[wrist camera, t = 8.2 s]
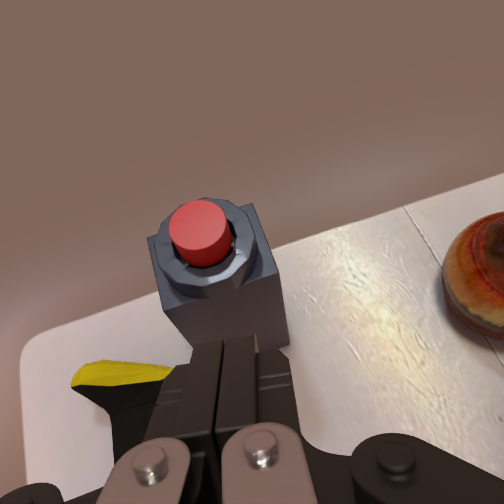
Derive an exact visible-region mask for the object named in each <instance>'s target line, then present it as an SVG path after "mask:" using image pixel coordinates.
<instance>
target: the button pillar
mask: <svg viewBox="0 0 504 504" xmlns="http://www.w3.org/2000/svg"><path fill="white" fill-rule="evenodd" d="M199 200H206V201H210V202H213V203H215V204H217V205H218V206H219V207H220V208H221V209H222V210H223V211H224V213H225V216H226V219H227V222H228V225H229V228H230V232H231V235H232V246H231V249H230V251H229V253H228V255H227V256H226V257H225V258H224V259H223V260H222V261H220V262H219V263H217V264H215V265H213V266H209V267H195V266H192V265H190V264H188V263H187V262H185V261H184V260H183V259H182V257H181V255H180V254H179V252H178V250H177V248H176V246H175V245H174V243H173V241H172V239H171V237H170V235H169V223H170V220H171V217H172V216H173V214H174V213H175V212H176V211H177V210H178V209H179V208H180V207H181V206H183V205H185V204H183V205H181V206H180V207H178V209H176V210H175V211H174V212H173V213H172V214H171V215H170V216H168V217H167V218H166V219H165V220H164V221H163V222H162V223H161V226H160V228H159V231H158V234H156V235H153V236H150V237H147V241H148V246H149V251H150V255H151V259H152V264H153V269H154V273H155V277H156V282H157V286H158V291H159V295H160V300H161V304H162V309H163V312H164V313H165V314H166V315H167V317H168V318H169V319H170V320H171V322H172V323H173V324H174V325H175V326H176V328H177V329H178V330H179V331H180V333H181V334H182V335H183V336H184V337H185V339H186V340H187V341H188V342H189V344H190V345H191V346H192V347H193V348H194V345H195V343H197V342H203V341H209V340H216V339H222V338H224V339H225V340H226V338H228V337H234V336H240V335H247V334H253V333H255V335H256V339H257V344H258V349H259V353H260V352H266V351H271V350H274V349H277V348H280V347H283V346H286V345H288V344H290V341H289V334H288V327H287V321H286V314H285V307H284V301H283V294H282V288H281V281H280V274H279V270H278V268H277V265H276V263H275V260H274V258H273V255H272V252H271V250H270V247H269V245H268V242H267V239H266V237H265V234H264V232H263V229H262V226H261V224H260V221H259V219H258V216H257V214H256V211H255V209H254V206H253V203H250V204H247V205H244V206H241V207H237V206H235V205H234V204H233V203H231V202H230V201H228V200H221V199H213V198H202V199H199ZM196 201H197V200H196ZM186 204H187V203H186Z"/></svg>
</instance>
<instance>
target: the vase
mask: <svg viewBox="0 0 504 504" xmlns="http://www.w3.org/2000/svg"><path fill="white" fill-rule="evenodd" d="M442 284H443V290H444V294H445V297H446V300H447V302H448V304H449V306H450V307H451V309H452V310H453V312H454V313H455V314H456V315H457V317H458V318H459V319H460V320H461V321H462V322H464V323H465V324H466V325H467V326H469V327H470V328H472V329H473V330H475V331H476V332H479V333H481V334H483V335H485V336H488V337H491V338H495V339H500V340H504V211H503V212H498V213H494V214H490V215H487V216H485V217H483V218H480V219H478V220H476V221H475V222H473V223H472V224H470V225H469V226H467V227H466V228H465V229H464V230H463V231H462V232H461V233H459V234H458V236H457V237H456V238H455V240H454V241H453V242H452V244H451V245H450V247H449V249H448V251H447V253H446V256H445V259H444V263H443V268H442Z"/></svg>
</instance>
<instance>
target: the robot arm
mask: <svg viewBox="0 0 504 504" xmlns="http://www.w3.org/2000/svg"><path fill="white" fill-rule="evenodd" d="M159 393H160V395H158V398H157V401H156V407H154V410H153V413H152V416H151V419H150V422H149V424H148V427H147V430H146V433H145V436H144V439H143V442H142V443H141V444H139V445H137V446H135V447H133V448H132V449H130V450H129V451H128V452H126V453H125V454H124V455H123V456H122V457H121V458H120V459H119V460H118V461H117V463H116V464H115V466H114V467H113V469H112V471H111V473H110V475H109V477H108V479H107V481H106V483H105V485H104V487H101V488H99V489H97V490H94V491H92V492H89V493H87V494H84V495H82V496H79V497H77V498H74V499H72V500H69V501H66V502H64V500H63V498H62V495H61V492H60V490H59V489H58V488H57V487H56V486H55V485H53V484H49V483H34V484H30V485H26V486H23V487H20V488H18V489H16V490H14V491H12V492H10V493H8V494H6V495H4V496H3V497H2V498H0V504H504V480H502V479H500V478H498V477H496V476H494V475H492V474H490V473H488V472H486V471H484V470H482V469H480V468H478V467H476V466H474V465H472V464H470V463H468V462H466V461H464V460H462V459H460V458H458V457H456V456H454V455H452V454H450V453H448V452H446V451H443V450H441V449H439V448H437V447H435V446H433V445H431V444H429V443H427V442H425V441H423V440H421V439H419V438H416V437H414V436H410V435H406V434H400V433H385V434H379V435H376V436H372V437H370V438H368V439H366V440H364V441H363V442H361V443H360V444H359V445H358V446H357V447H356V448H355V450H354V451H353V453H352V456H344V455H336V454H330V453H327V452H324V451H321V450H319V449H317V448H315V447H313V446H312V445H310V444H309V443H308V442H307V441H306V440H305V439H304V437H303V436H302V434H301V430H300V424H299V417H298V411H297V405H296V399H295V393H294V387H293V382H292V376H291V370H290V364H289V359H288V358H287V357H286V356H285V355H284V354H283V353H282V352H281V351H279V350H272V351H266V352H260V353H259V349H258V344H257V339H256V335H255V333H253V334H247V335H240V336H234V337H228V338H226V340H225V339H224V338H222V339H216V340H209V341H203V342H197V343H195V345H194V348H193V352H192V356H191V360H190V364H184V365H177V366H176V367H175V368H174V369H173V370H172V371H171V372H170V373H169V374H168V375H167V376H166V377H165V378H164V380H163V383H162V386H161V389H160V392H159Z"/></svg>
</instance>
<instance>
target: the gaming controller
mask: <svg viewBox="0 0 504 504" xmlns="http://www.w3.org/2000/svg"><path fill="white" fill-rule="evenodd" d="M172 370H173V369H172V368H170V367H166V366H160V365H151V364H142V363H132V362H121V361H111V360H101V361H97V362H93V363H89V364H85V365H84V366H82V367H81V368H80V369H79V370H78V372H77V373H76V374H75V375H74V376H73V379H72V381H71V388H72V389H73V390H74V391H76V392H78V393H79V394H81V395H83V396H85V397H86V398H88V399H90V400H91V401H93V402H94V403H96V404H98V405H99V406H101V407H102V408H104V409H105V410H106V411H107V413H108V414H109V415H110V420H111V424H112V439H113V453H114V466H115V464H116V463H117V461H118V460H119V459H120V458H121V457H122V456H123V455H124V454H125V453H126V452H128V451H129V450H130V449H132V448H133V447H135V446H137V445H139V444H141V443H142V442H143V439H144V436H145V433H146V430H147V427H148V424H149V422H150V419H151V416H152V413H153V410H154V407H156V401H157V398H158V395H160V393H159V392H160V389H161V386H162V383H163V380H164V378H165V377H166V376H167V375H168V374H169V373H170V372H171V371H172Z"/></svg>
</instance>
